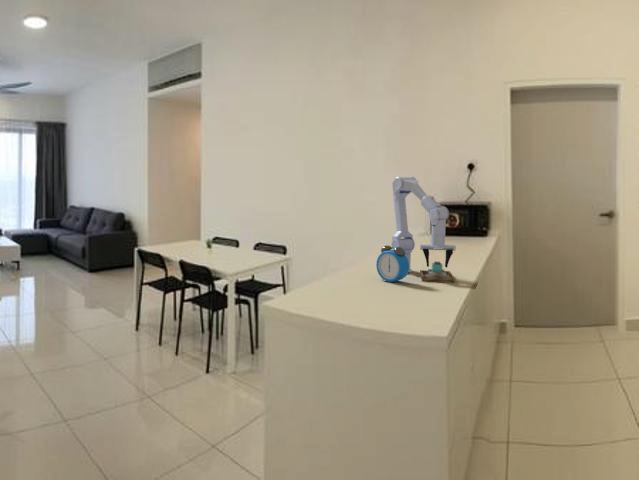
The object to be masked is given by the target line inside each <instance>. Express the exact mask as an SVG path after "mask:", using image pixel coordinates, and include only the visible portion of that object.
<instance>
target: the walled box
mask: <svg viewBox="0 0 639 480" xmlns="http://www.w3.org/2000/svg"><path fill="white" fill-rule="evenodd" d="M419 276H420V280H421V282H428V283H429V282H433V283H434V282H435V283H454V282H455V276H454V275H453V274H452V272H451V271H450V270H449V271H448V270H446V269H442V272H432V268H428V269H427V270H423V269H422V270H421V269H420V270H419Z"/></svg>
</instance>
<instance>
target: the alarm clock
mask: <svg viewBox="0 0 639 480" xmlns="http://www.w3.org/2000/svg"><path fill="white" fill-rule="evenodd" d="M392 248H393V247H392V245H388V244H387V245H384V246H383V247H381V249H380V254H379V255H378V257H377V260H376V271H377V273H378V275H379V276H380V278H381V279H382V281H385V282H388V283H393V282H394V284H397V281H400V280H403V279H405V278H406V276H407V275H408V273H409V272H408V270H409V262H408V259H407V257H406V256H405V250H404V249H403V248H402V247H396V248H395V249H394V250H393V249H392Z"/></svg>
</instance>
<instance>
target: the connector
mask: <svg viewBox="0 0 639 480" xmlns="http://www.w3.org/2000/svg"><path fill="white" fill-rule="evenodd" d="M431 269H432V272H442V270H443V263H441V261H433V262H432V263H431Z"/></svg>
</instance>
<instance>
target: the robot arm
mask: <svg viewBox="0 0 639 480" xmlns="http://www.w3.org/2000/svg"><path fill="white" fill-rule="evenodd" d="M391 184H392V185H391V186H392V196H393V197H392V198H393V199H392V201H393V209H394V219H395V230H396V232H395V233H394V234H393V235H392V238H391V240H392V241H391V247H393V248H392V249H391V250H394V249H395V248H396V247H402V248H403V249H404V250H405V256H406V257H407V259H408V262H409V270H408V273H412V268H411V262H412V261H411V260H412V259H411V255H412V253H413V250H414V249H415V240H414V238H413V234H412V233H410V231H409V226H408V215H407V205H406V198H407V196H408V195H410V194H411V193H413V195H414V196H416V198H418V200H420V205H421V206H422V207H423V209H424V210H426V212H427V213H428V217H429V220H430V225H431V237H430V238H431V239H430V244H419V246H420V250H421V251H422V252H423V255H424V259H425V262H426V267H427V268H428V267H429V266H430V259H429V258H430V251H445V262H444V267H445V268H448V265H449V261H450V259H451V258H452V255H453V254H454V252H455V251H456V245H449V244H448V245H447V244H446V226H447V225H446V223H447V221H446V220H448V219H449V217H450V212H449V209H448V207H446V206H442V205H441V204H440V203H439V202H438V201H437V200H436V199H435V196H433V195H427V193H426V192H425V191H424V190H423V187H421V186H420V184H419V180H418V179H416V177H414V176H396V177H394V179H393V181H392V183H391Z"/></svg>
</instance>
